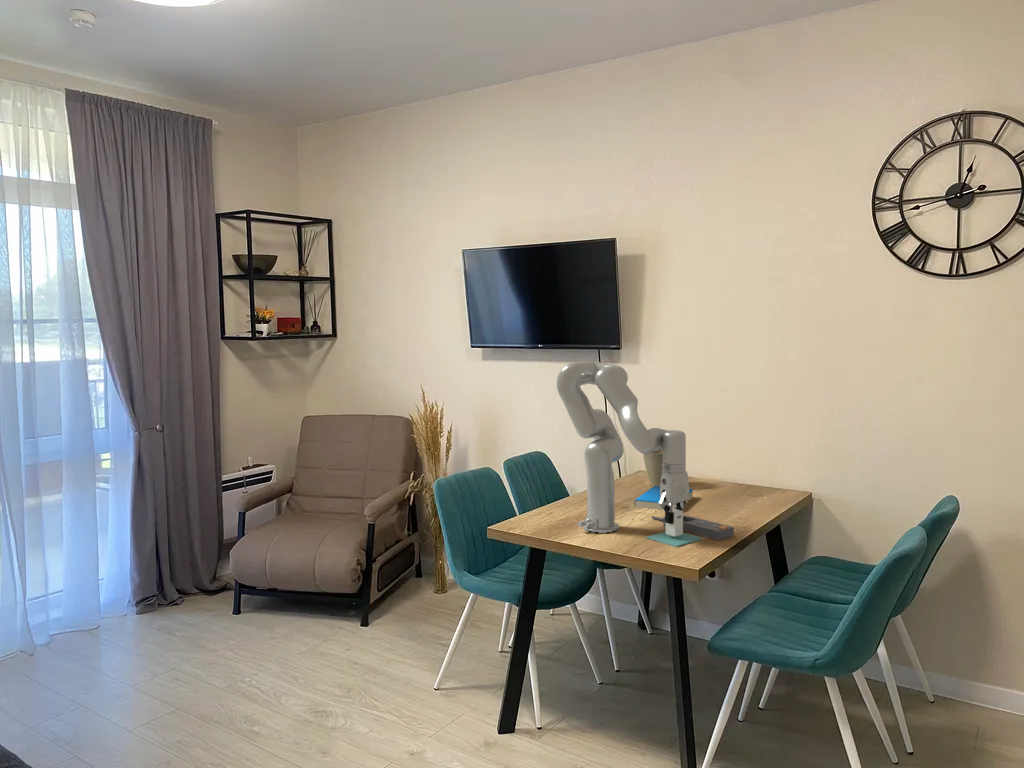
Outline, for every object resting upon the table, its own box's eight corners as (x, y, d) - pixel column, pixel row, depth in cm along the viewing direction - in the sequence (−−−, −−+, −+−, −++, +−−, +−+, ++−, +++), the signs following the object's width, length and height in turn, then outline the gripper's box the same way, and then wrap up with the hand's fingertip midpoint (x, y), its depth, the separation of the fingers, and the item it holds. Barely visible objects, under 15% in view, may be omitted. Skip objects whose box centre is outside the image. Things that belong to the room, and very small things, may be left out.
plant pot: (640, 482, 336) (639, 447, 335) (673, 482, 336) (673, 446, 335) (645, 490, 321) (645, 453, 320) (680, 489, 321) (680, 452, 320)
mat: (676, 547, 242) (676, 545, 242) (646, 538, 253) (646, 536, 253) (702, 539, 250) (702, 537, 250) (671, 531, 261) (671, 529, 261)
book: (693, 489, 307) (678, 502, 284) (693, 499, 307) (677, 513, 285) (652, 485, 314) (634, 498, 292) (652, 495, 315) (634, 509, 293)
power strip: (734, 535, 253) (734, 525, 253) (719, 540, 249) (719, 529, 248) (659, 516, 280) (659, 507, 279) (644, 520, 275) (644, 510, 274)
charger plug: (675, 536, 248) (675, 513, 248) (665, 533, 252) (665, 510, 251) (683, 534, 251) (683, 510, 250) (673, 531, 254) (673, 508, 253)
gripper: (665, 473, 241) (665, 529, 243) (699, 466, 252) (699, 519, 253) (648, 469, 247) (648, 524, 249) (681, 462, 257) (681, 515, 259)
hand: (674, 521), depth 251 cm, fingers closed on charger plug, 4 cm apart
